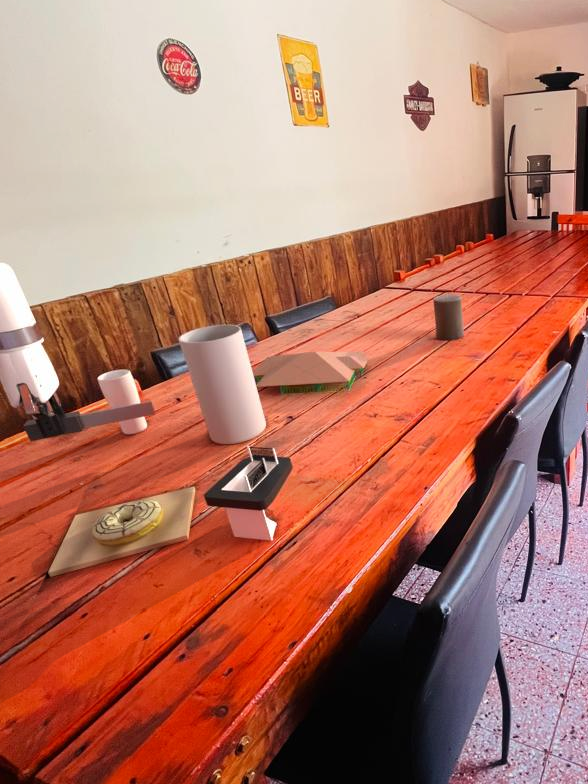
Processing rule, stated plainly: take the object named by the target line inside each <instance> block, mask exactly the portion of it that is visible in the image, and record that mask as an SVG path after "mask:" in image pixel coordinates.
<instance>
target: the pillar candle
mask: <svg viewBox="0 0 588 784" xmlns="http://www.w3.org/2000/svg"><path fill="white" fill-rule="evenodd" d="M432 300H433V309H434V323H435V334H436V338H437V339H438V340H441V341H456V340H459V339H462V338H463V337H464V336H465V330H464V316H463V302H462V296H461V295H460V294H447V293H446V294H441V295H437V296H434V297H433V299H432Z"/></svg>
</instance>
